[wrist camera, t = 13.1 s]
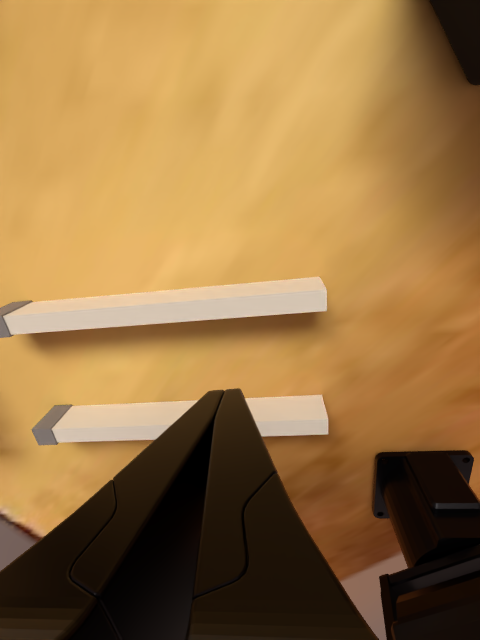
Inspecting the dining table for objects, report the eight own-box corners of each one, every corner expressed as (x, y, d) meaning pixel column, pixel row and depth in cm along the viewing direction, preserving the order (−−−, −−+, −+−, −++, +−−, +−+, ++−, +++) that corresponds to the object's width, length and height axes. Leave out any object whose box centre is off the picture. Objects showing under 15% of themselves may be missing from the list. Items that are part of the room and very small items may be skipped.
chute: (322, 410, 22) (328, 436, 20) (60, 420, 25) (38, 445, 22) (319, 275, 19) (326, 288, 16) (12, 302, 21) (-21, 317, 19)
